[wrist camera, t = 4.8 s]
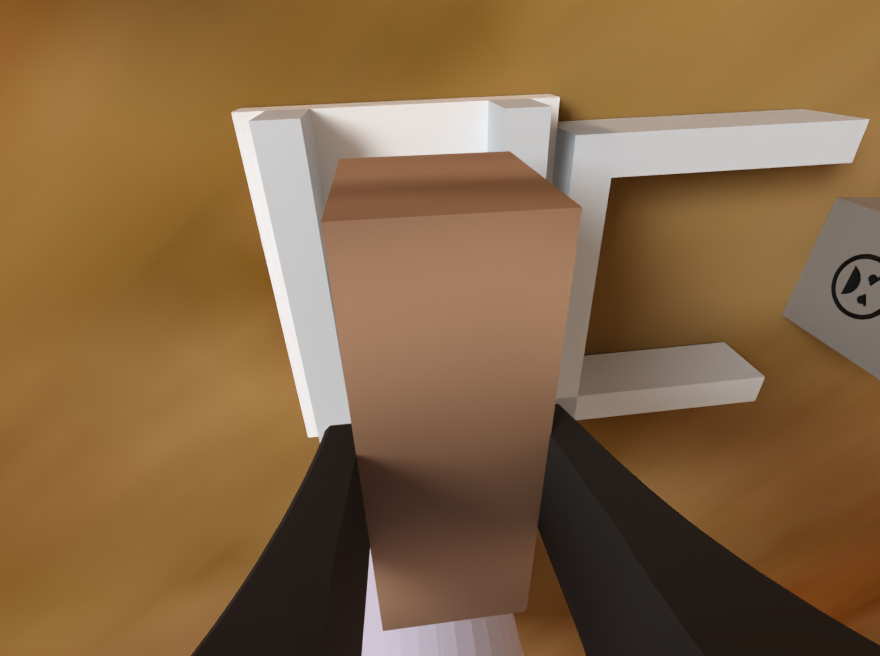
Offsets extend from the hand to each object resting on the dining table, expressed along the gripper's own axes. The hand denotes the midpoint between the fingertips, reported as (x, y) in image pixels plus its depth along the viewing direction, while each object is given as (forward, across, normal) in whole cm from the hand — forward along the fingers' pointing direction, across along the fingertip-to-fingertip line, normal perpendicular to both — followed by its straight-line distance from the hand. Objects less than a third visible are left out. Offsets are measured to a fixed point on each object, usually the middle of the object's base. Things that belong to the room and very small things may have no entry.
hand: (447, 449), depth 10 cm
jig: (+8, -4, 0) cm, 9 cm away
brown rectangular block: (+3, 0, 0) cm, 3 cm away
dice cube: (+9, -18, 0) cm, 20 cm away
